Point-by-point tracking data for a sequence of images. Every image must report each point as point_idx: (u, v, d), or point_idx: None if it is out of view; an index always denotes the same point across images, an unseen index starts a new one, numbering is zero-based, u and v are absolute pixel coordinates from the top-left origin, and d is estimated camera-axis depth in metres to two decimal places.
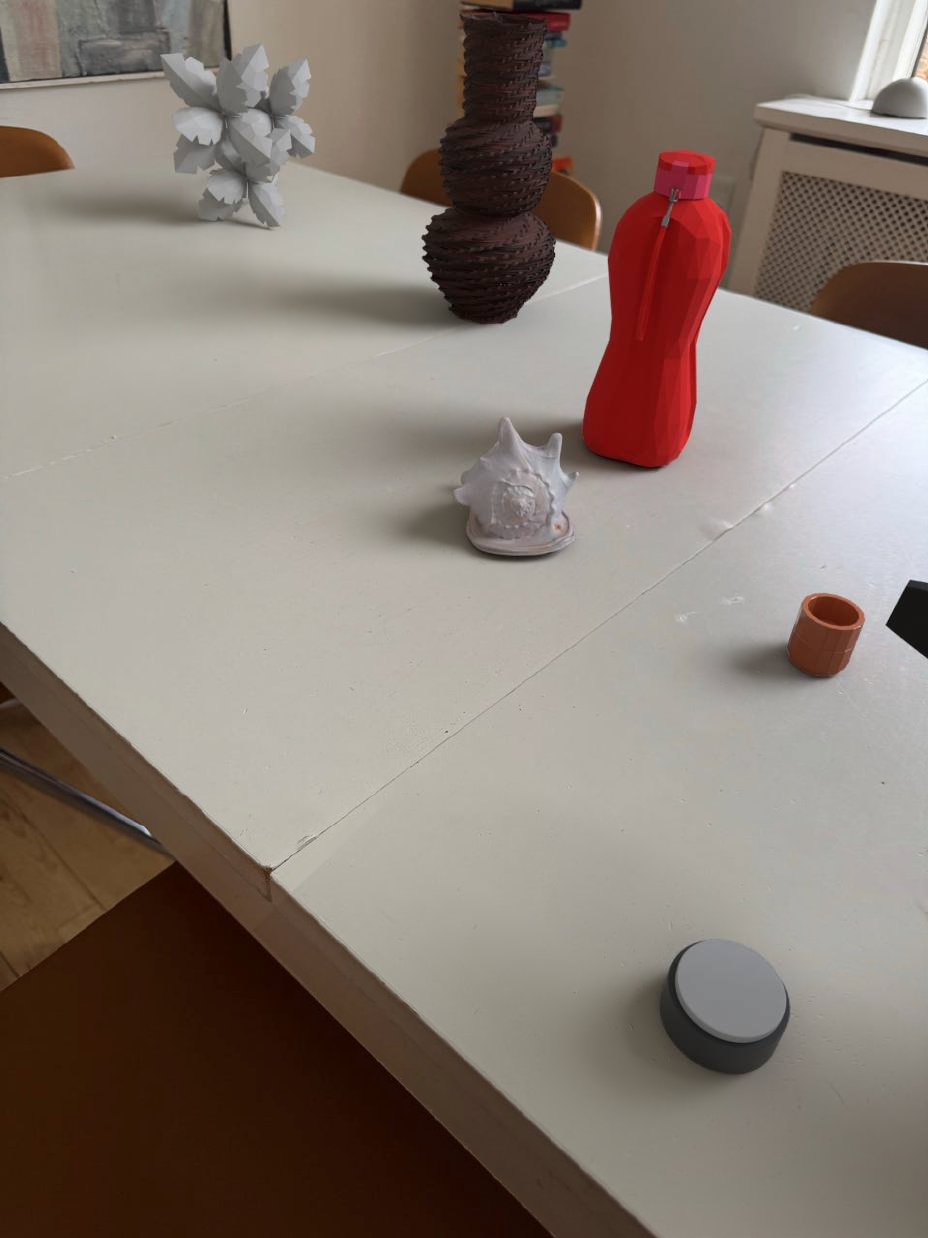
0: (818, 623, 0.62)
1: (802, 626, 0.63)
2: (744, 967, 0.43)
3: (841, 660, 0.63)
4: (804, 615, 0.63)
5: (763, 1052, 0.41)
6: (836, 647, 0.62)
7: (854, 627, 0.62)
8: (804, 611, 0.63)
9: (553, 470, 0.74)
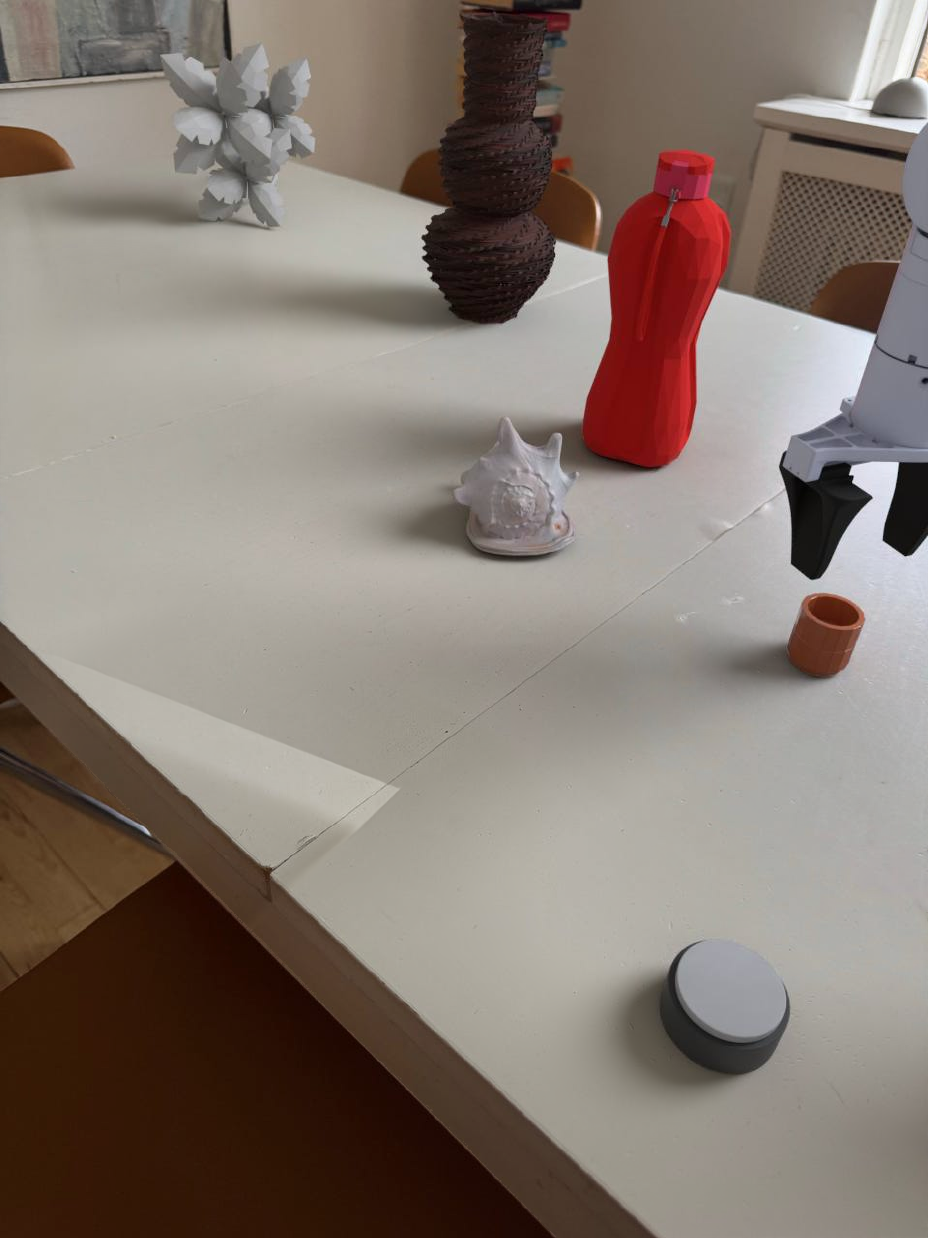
0: (818, 623, 0.62)
1: (802, 626, 0.63)
2: (744, 967, 0.43)
3: (841, 660, 0.63)
4: (804, 615, 0.63)
5: (763, 1052, 0.41)
6: (836, 647, 0.62)
7: (854, 627, 0.62)
8: (804, 611, 0.63)
9: (553, 470, 0.74)
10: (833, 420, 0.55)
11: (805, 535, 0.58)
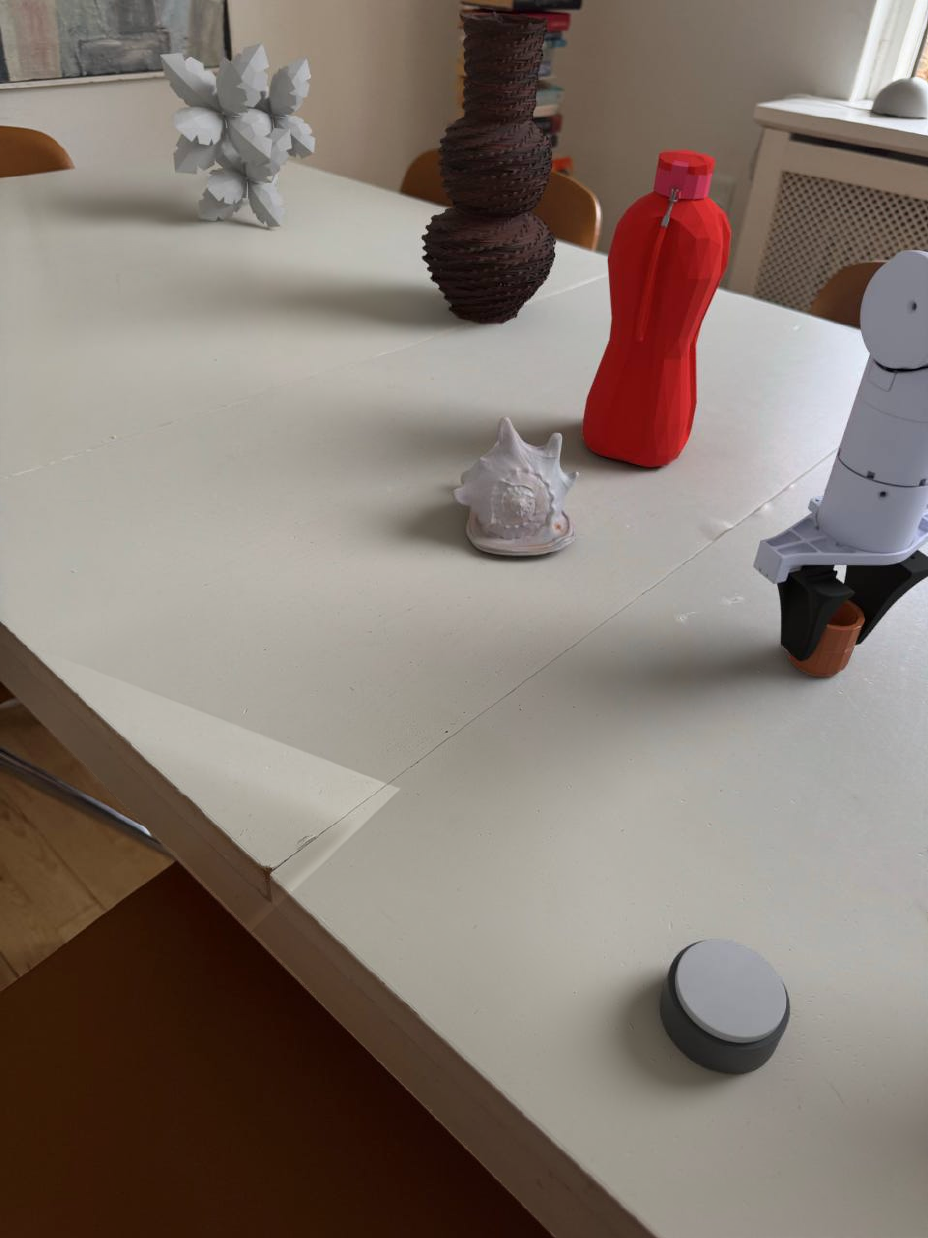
0: None
1: None
2: (744, 967, 0.43)
3: (841, 660, 0.63)
4: None
5: (763, 1052, 0.41)
6: (836, 647, 0.62)
7: (854, 627, 0.62)
8: None
9: (553, 470, 0.74)
10: (800, 523, 0.59)
11: (793, 620, 0.62)
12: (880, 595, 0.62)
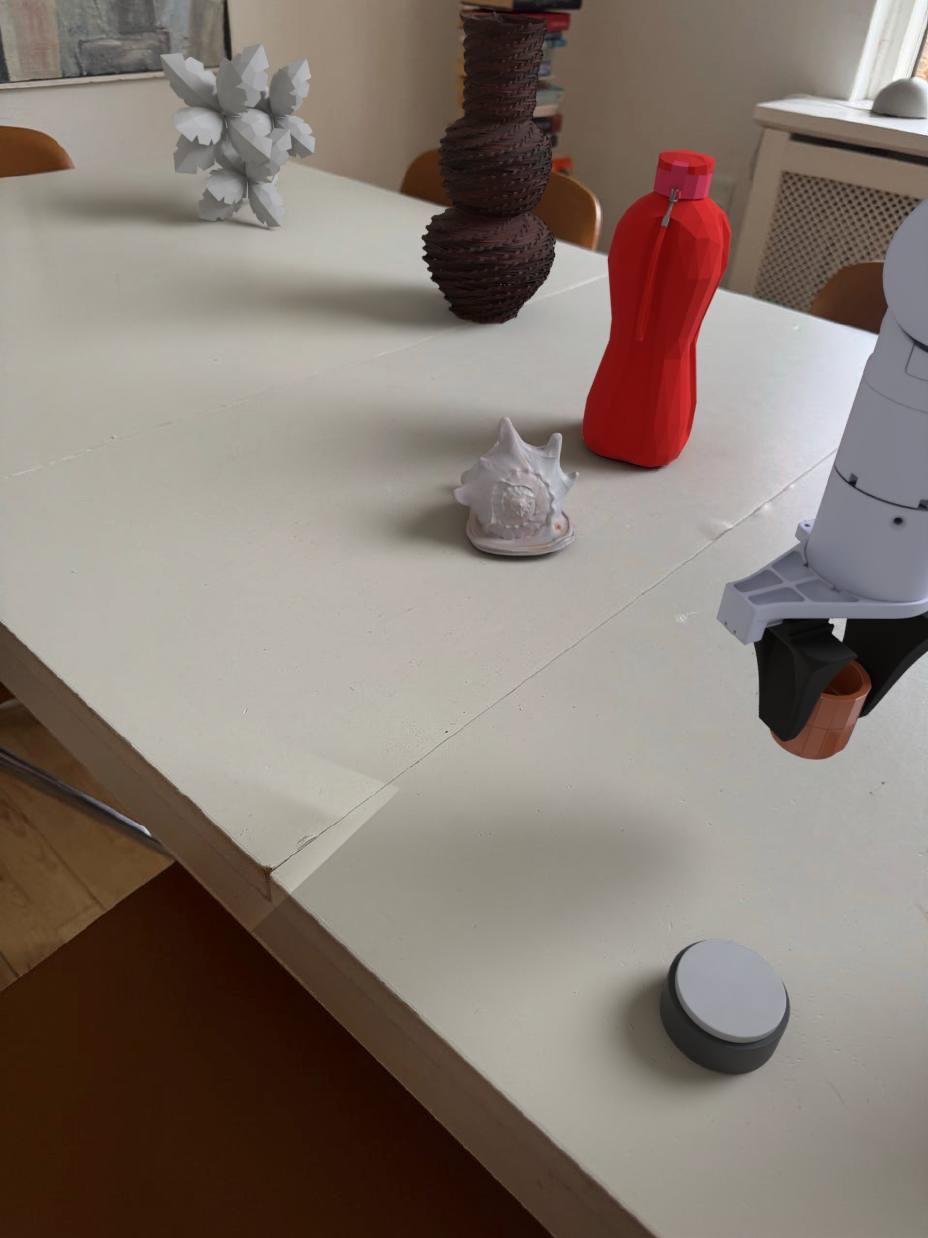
0: None
1: None
2: (744, 967, 0.43)
3: (839, 739, 0.47)
4: None
5: (763, 1052, 0.41)
6: (832, 723, 0.46)
7: (856, 697, 0.45)
8: None
9: (553, 470, 0.74)
10: (783, 558, 0.43)
11: (775, 687, 0.46)
12: (893, 654, 0.46)
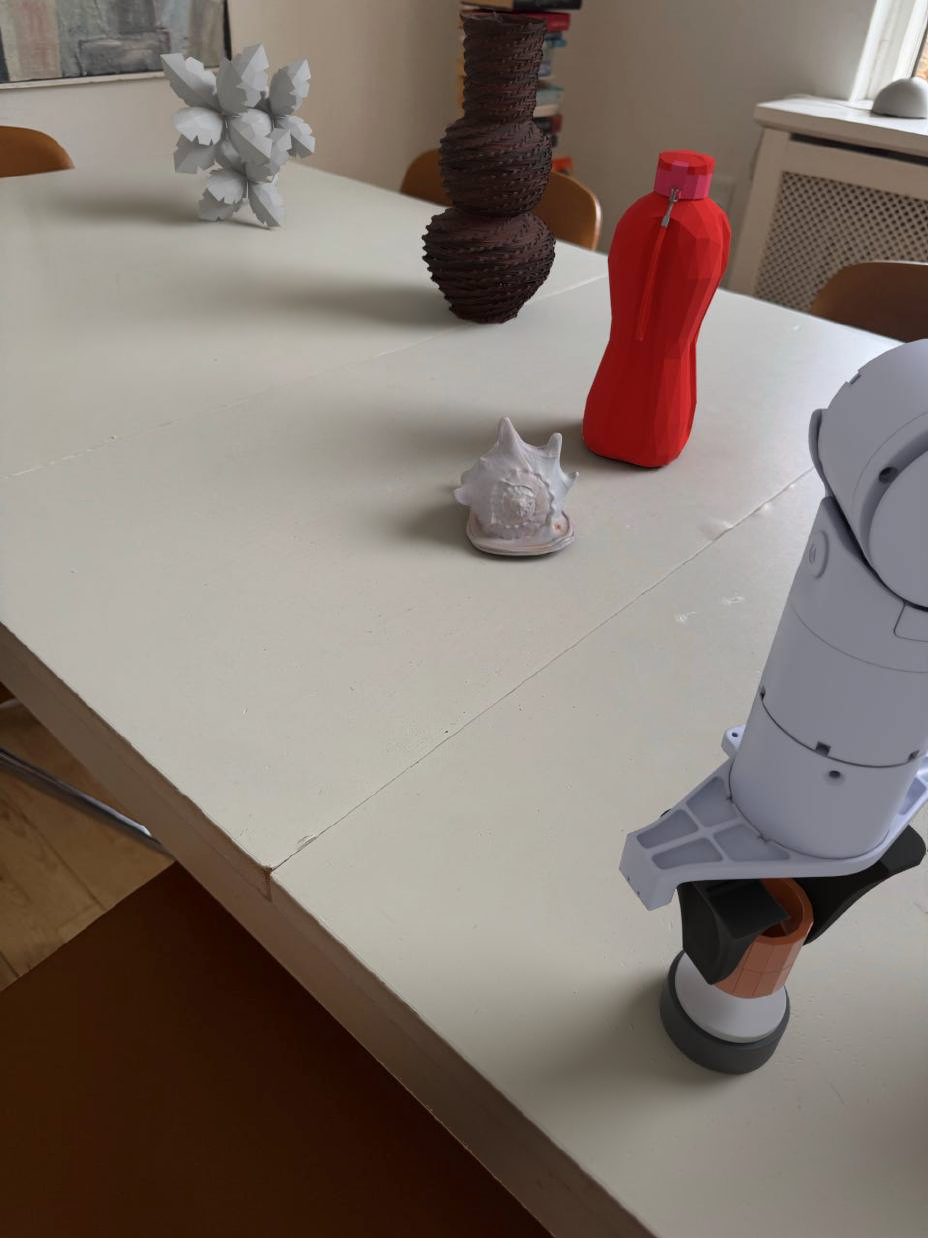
0: None
1: None
2: None
3: (776, 981, 0.39)
4: None
5: (763, 1052, 0.41)
6: (766, 967, 0.38)
7: (794, 940, 0.38)
8: None
9: (553, 470, 0.74)
10: (702, 788, 0.35)
11: (699, 924, 0.39)
12: (839, 887, 0.38)
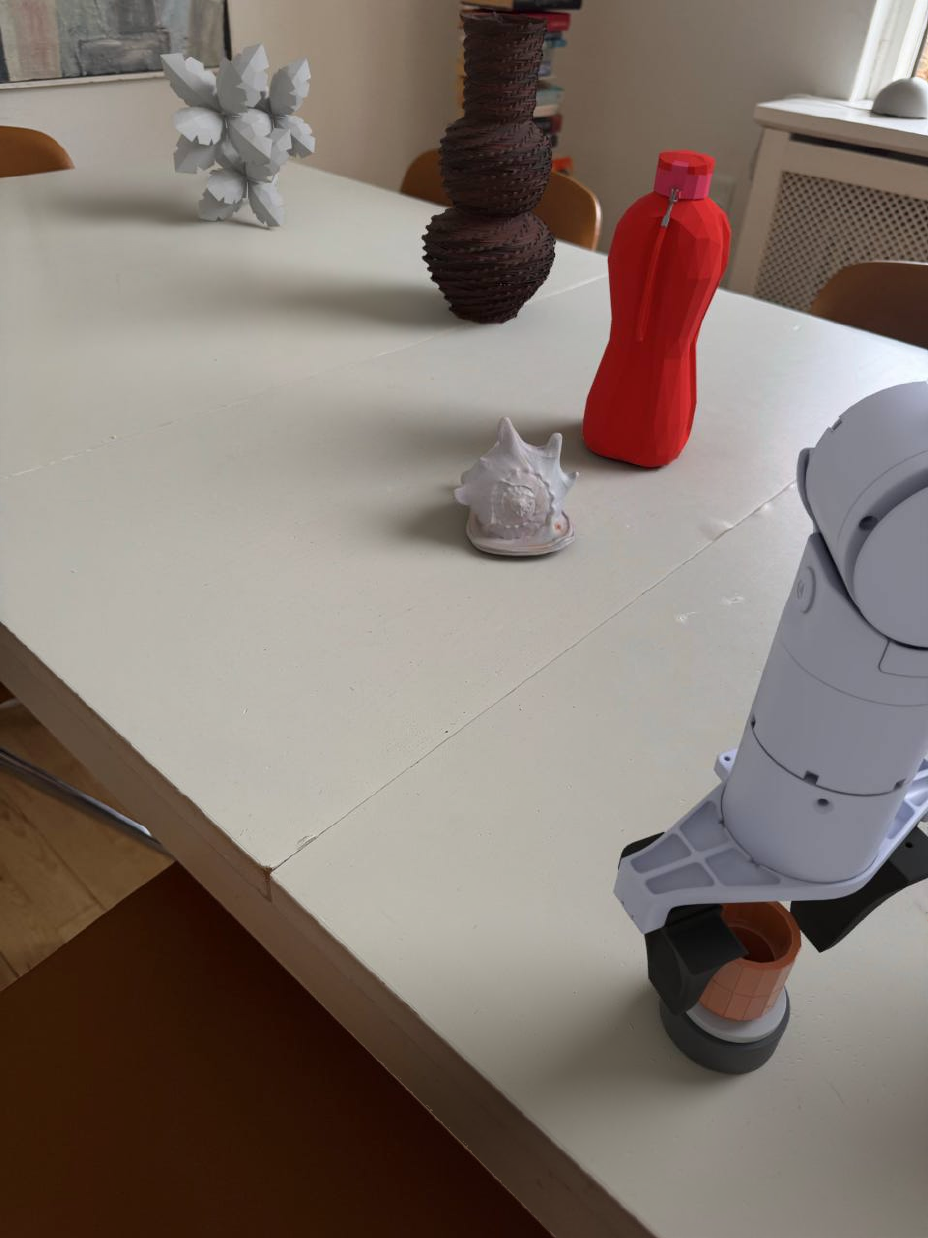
0: None
1: None
2: None
3: (765, 1004, 0.40)
4: None
5: (763, 1052, 0.41)
6: (756, 991, 0.39)
7: (783, 965, 0.39)
8: None
9: (553, 470, 0.74)
10: (695, 812, 0.36)
11: (663, 956, 0.39)
12: (858, 895, 0.39)
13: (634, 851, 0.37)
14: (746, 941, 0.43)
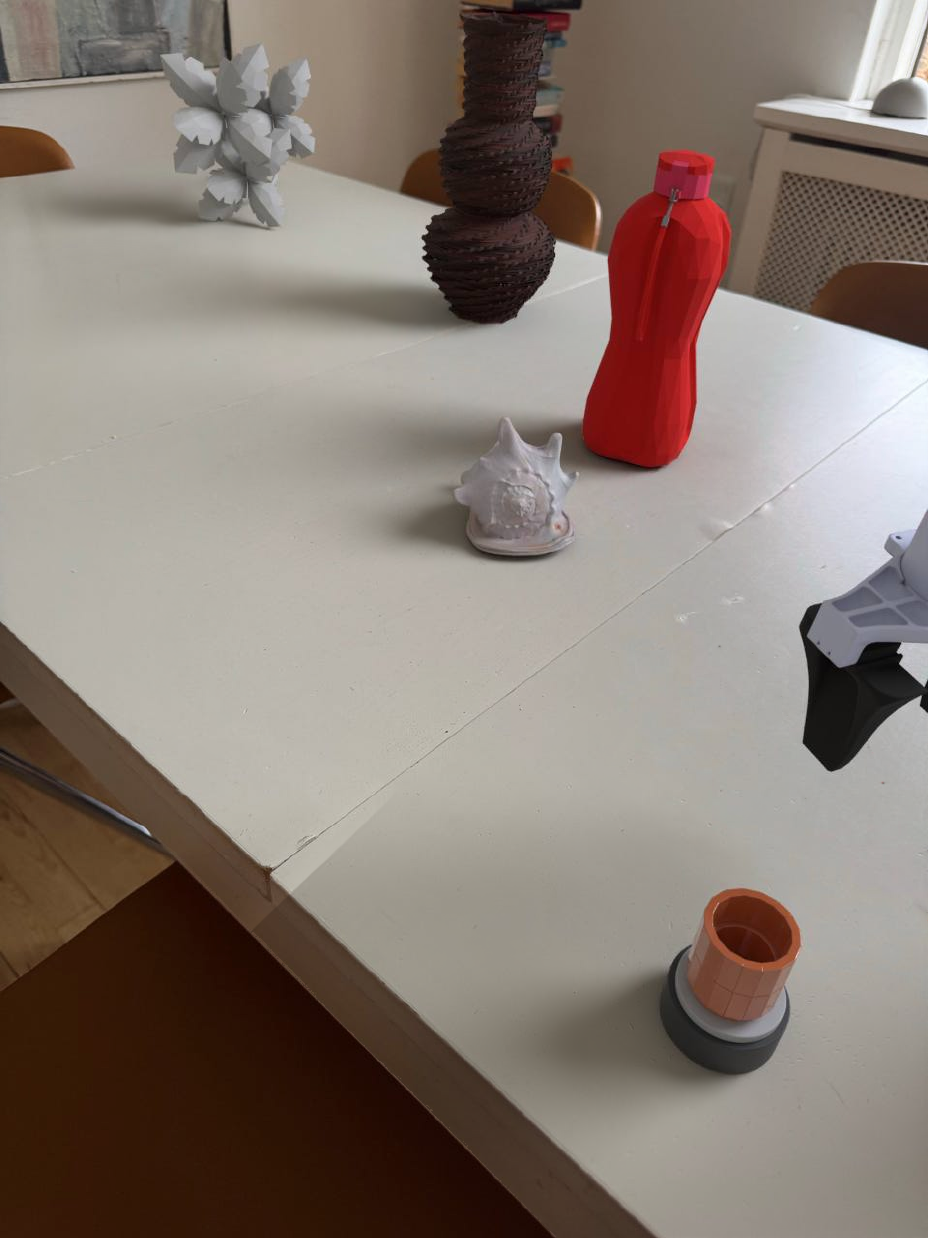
0: (726, 956, 0.39)
1: (704, 952, 0.40)
2: None
3: (765, 1004, 0.40)
4: (706, 937, 0.40)
5: (763, 1052, 0.41)
6: (756, 991, 0.39)
7: (783, 965, 0.39)
8: (706, 930, 0.40)
9: (553, 470, 0.74)
10: (879, 574, 0.40)
11: (826, 715, 0.43)
12: None
13: (817, 610, 0.41)
14: (746, 941, 0.43)
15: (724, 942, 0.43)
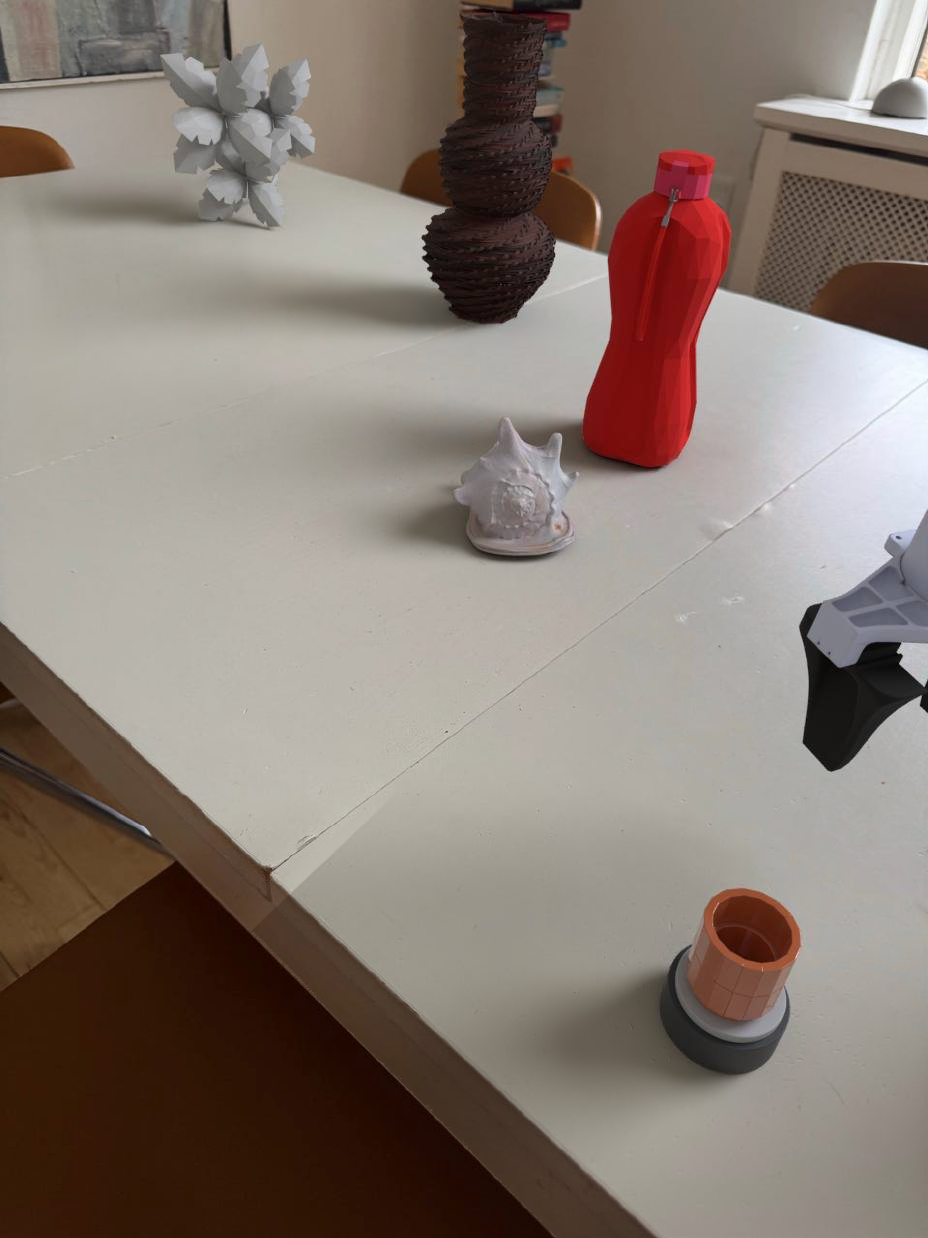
0: (726, 956, 0.39)
1: (704, 952, 0.40)
2: None
3: (765, 1004, 0.40)
4: (706, 937, 0.40)
5: (763, 1052, 0.41)
6: (756, 991, 0.39)
7: (783, 965, 0.39)
8: (706, 930, 0.40)
9: (553, 470, 0.74)
10: (879, 574, 0.40)
11: (826, 715, 0.43)
12: None
13: (817, 610, 0.41)
14: (746, 941, 0.43)
15: (724, 942, 0.43)
